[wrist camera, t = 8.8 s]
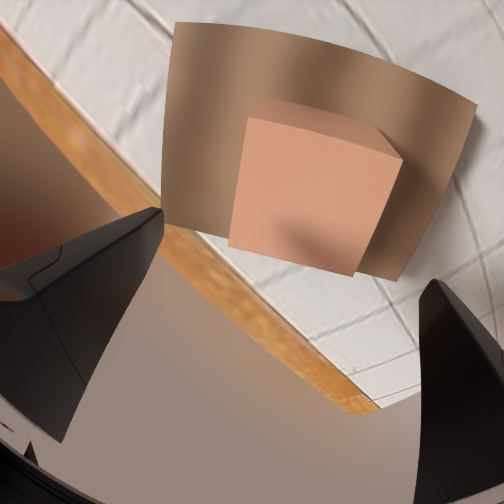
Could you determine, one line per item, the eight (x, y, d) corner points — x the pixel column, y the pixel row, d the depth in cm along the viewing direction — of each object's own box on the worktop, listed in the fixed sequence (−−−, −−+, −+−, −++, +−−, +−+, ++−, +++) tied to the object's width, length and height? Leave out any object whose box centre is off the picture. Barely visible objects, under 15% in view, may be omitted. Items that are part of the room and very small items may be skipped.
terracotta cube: (374, 125, 15) (403, 160, 10) (344, 214, 18) (352, 277, 14) (269, 97, 15) (248, 117, 10) (251, 190, 19) (227, 246, 14)
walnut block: (457, 97, 14) (477, 105, 12) (390, 257, 23) (396, 282, 21) (194, 25, 15) (175, 22, 13) (176, 202, 24) (160, 222, 21)
